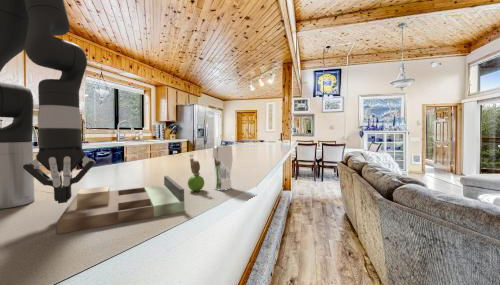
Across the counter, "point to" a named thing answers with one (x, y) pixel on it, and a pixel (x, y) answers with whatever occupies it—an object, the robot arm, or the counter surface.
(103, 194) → the block
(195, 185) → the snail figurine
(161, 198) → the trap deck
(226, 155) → the beer glass
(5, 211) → the counter surface
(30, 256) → the counter surface
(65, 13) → the robot arm
